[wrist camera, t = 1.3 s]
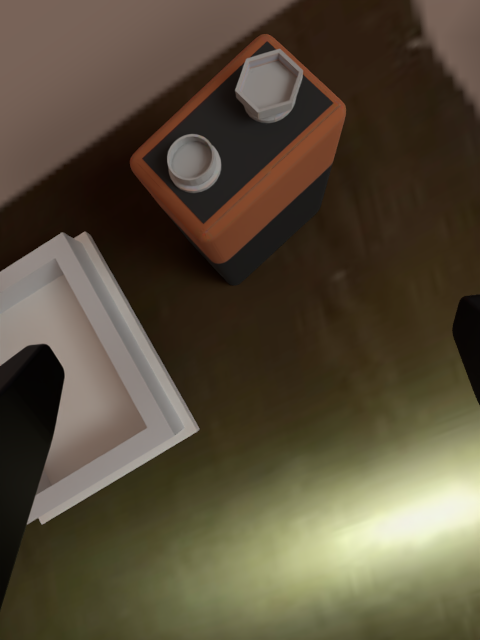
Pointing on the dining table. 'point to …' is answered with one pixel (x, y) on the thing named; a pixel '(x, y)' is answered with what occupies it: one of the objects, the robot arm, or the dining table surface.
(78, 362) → the tray
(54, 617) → the dining table surface
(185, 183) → the battery
